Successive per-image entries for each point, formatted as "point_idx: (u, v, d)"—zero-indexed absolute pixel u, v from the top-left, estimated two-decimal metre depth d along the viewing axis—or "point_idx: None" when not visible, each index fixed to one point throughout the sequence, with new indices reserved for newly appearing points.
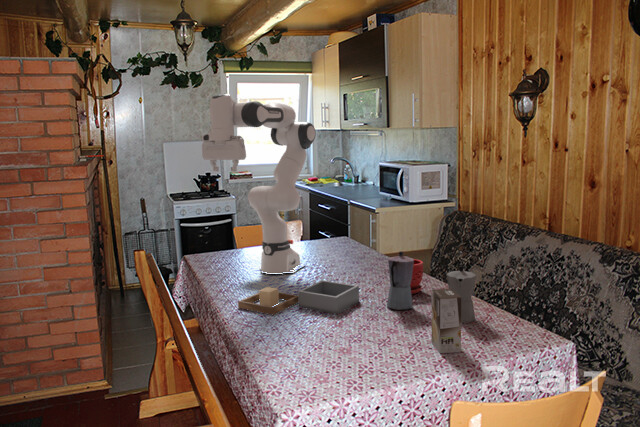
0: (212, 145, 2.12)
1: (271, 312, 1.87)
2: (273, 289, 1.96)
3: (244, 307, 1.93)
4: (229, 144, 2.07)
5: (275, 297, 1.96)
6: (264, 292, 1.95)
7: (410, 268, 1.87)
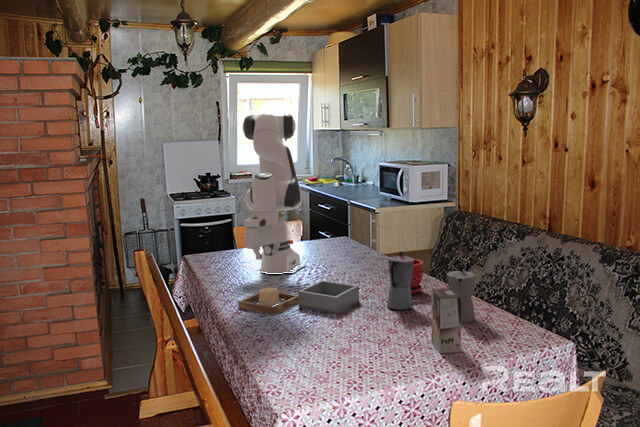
0: (262, 230, 1.88)
1: (271, 312, 1.87)
2: (273, 289, 1.96)
3: (244, 307, 1.93)
4: (278, 225, 1.96)
5: (275, 297, 1.96)
6: (264, 292, 1.95)
7: (410, 268, 1.87)
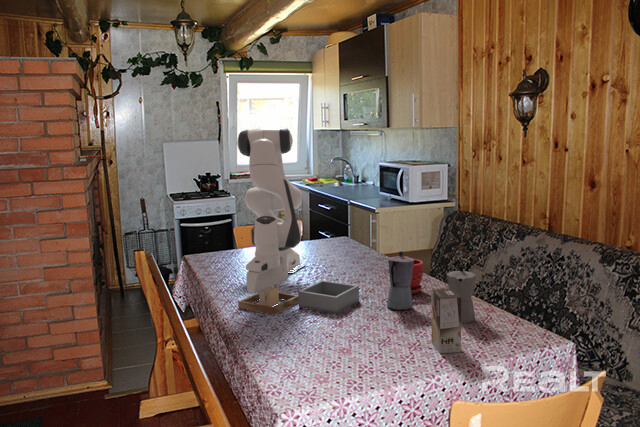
0: (264, 274, 1.91)
1: (271, 312, 1.87)
2: (273, 289, 1.96)
3: (244, 307, 1.93)
4: (279, 267, 1.99)
5: (275, 297, 1.96)
6: (264, 292, 1.95)
7: (410, 268, 1.87)
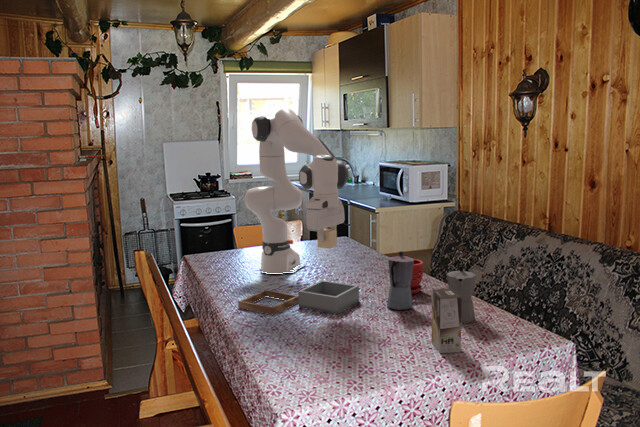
0: (324, 212, 1.87)
1: (271, 312, 1.87)
2: (332, 230, 1.92)
3: (244, 307, 1.93)
4: (337, 208, 1.94)
5: (333, 238, 1.92)
6: (323, 232, 1.90)
7: (410, 268, 1.87)
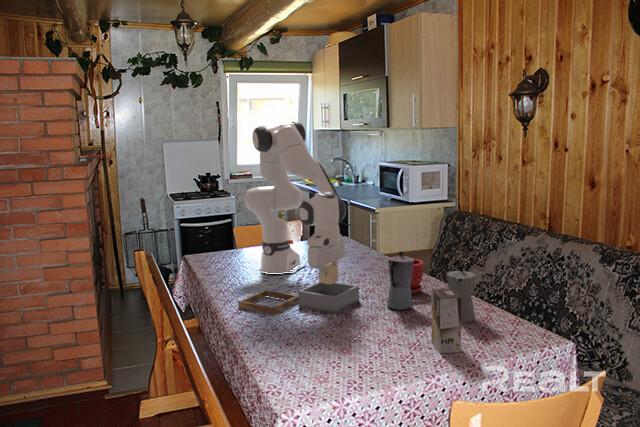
0: (325, 249, 1.89)
1: (271, 312, 1.87)
2: (333, 265, 1.94)
3: (244, 307, 1.93)
4: (338, 243, 1.96)
5: (335, 273, 1.94)
6: (324, 268, 1.92)
7: (410, 268, 1.87)
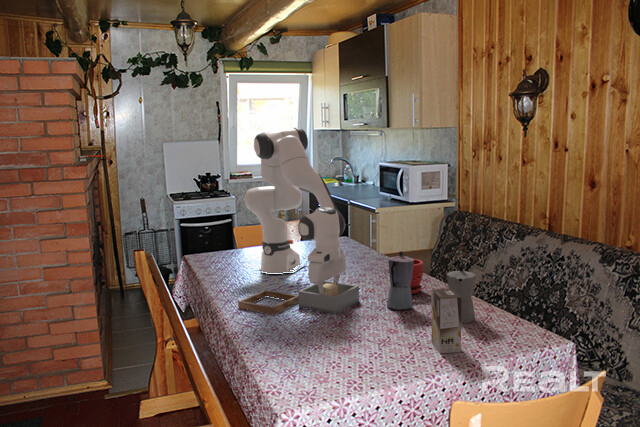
0: (326, 265, 1.89)
1: (271, 312, 1.87)
2: (334, 286, 1.95)
3: (244, 307, 1.93)
4: (339, 258, 1.97)
5: (335, 293, 1.95)
6: (325, 288, 1.93)
7: (410, 268, 1.87)
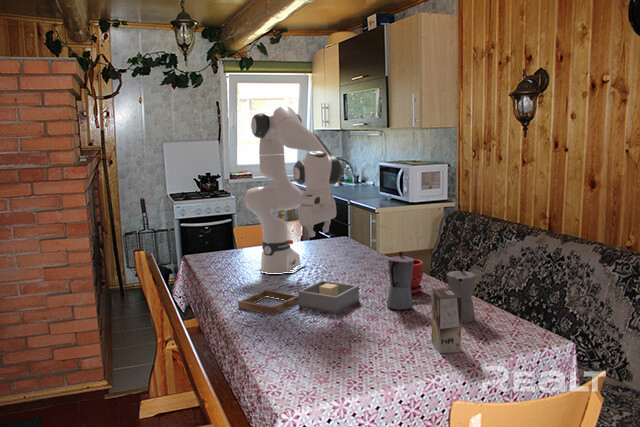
0: (316, 208, 1.90)
1: (271, 312, 1.87)
2: (334, 286, 1.95)
3: (244, 307, 1.93)
4: (329, 203, 1.97)
5: (335, 293, 1.95)
6: (325, 288, 1.93)
7: (410, 268, 1.87)
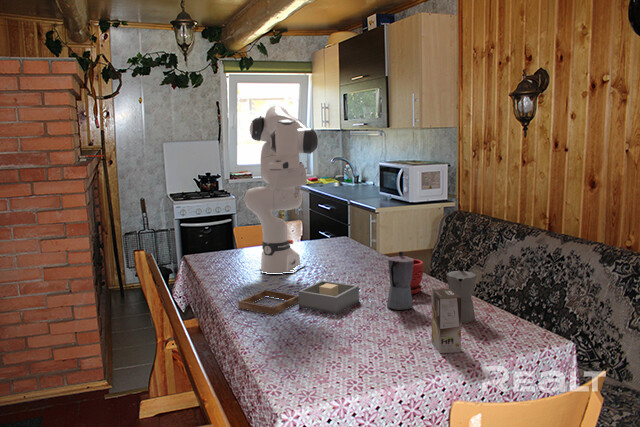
0: (285, 173, 2.00)
1: (271, 312, 1.87)
2: (334, 286, 1.95)
3: (244, 307, 1.93)
4: (299, 170, 2.07)
5: (335, 293, 1.95)
6: (325, 288, 1.93)
7: (410, 268, 1.87)
